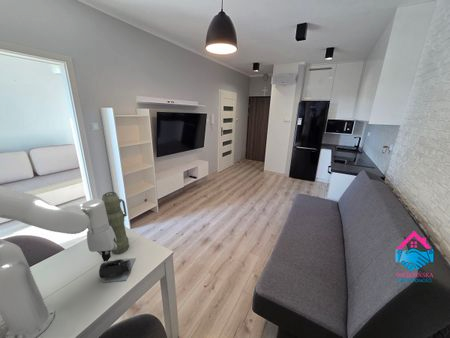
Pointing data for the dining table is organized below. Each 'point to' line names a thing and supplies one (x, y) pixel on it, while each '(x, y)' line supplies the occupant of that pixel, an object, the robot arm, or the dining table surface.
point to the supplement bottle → (114, 268)
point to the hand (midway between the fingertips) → (107, 259)
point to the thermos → (116, 220)
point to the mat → (123, 276)
